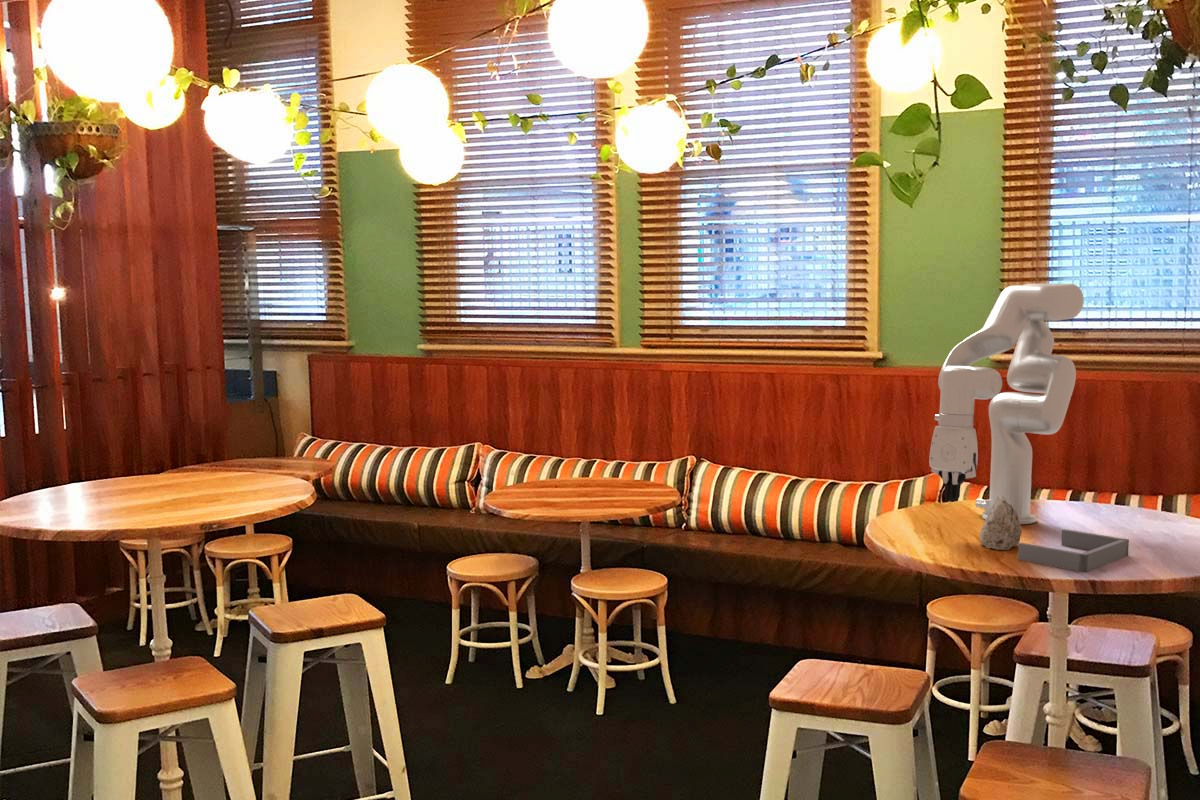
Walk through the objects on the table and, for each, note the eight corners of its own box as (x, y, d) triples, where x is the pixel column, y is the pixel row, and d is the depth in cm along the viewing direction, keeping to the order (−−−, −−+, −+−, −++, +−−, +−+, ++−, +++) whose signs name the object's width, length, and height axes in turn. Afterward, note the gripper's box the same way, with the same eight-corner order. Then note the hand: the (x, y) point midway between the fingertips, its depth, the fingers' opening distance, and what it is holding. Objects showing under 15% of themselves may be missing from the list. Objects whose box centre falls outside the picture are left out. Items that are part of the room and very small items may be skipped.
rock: (1040, 525, 251) (1005, 512, 250) (1018, 565, 254) (984, 553, 254) (1022, 499, 264) (989, 488, 263) (1002, 538, 267) (970, 527, 267)
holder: (1018, 559, 245) (1018, 543, 245) (1063, 544, 260) (1064, 529, 259) (1084, 572, 235) (1085, 555, 234) (1128, 555, 249) (1128, 539, 249)
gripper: (918, 419, 268) (914, 497, 269) (978, 425, 257) (973, 507, 258) (935, 418, 273) (931, 495, 274) (994, 423, 262) (990, 504, 264)
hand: (951, 500), depth 266 cm, fingers closed
